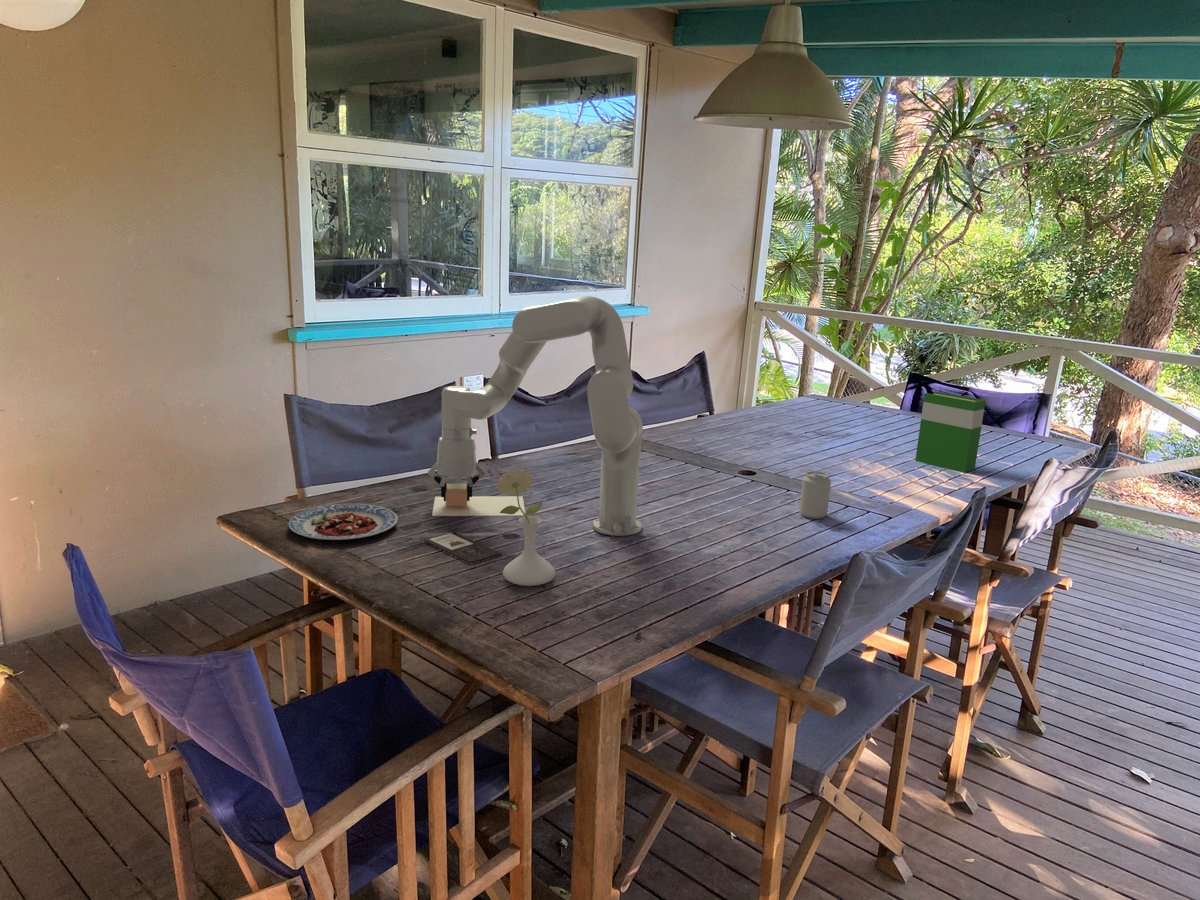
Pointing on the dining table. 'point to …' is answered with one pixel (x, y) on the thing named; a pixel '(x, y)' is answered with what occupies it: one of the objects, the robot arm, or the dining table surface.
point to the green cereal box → (950, 431)
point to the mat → (479, 506)
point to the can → (815, 495)
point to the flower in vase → (529, 564)
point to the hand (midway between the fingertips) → (456, 498)
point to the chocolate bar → (463, 547)
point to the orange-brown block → (456, 495)
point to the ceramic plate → (343, 521)
